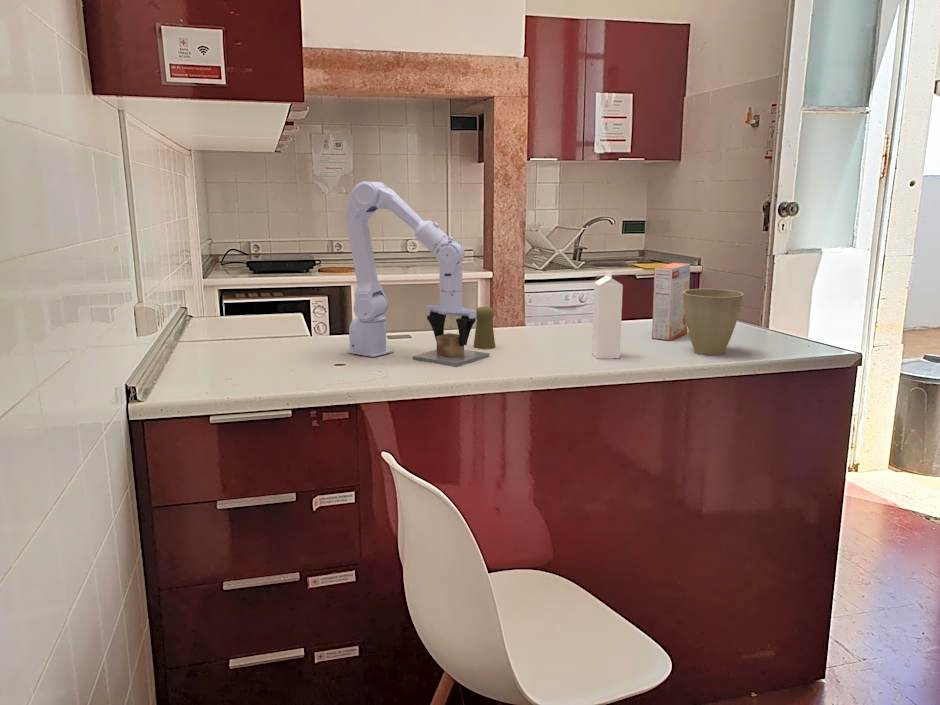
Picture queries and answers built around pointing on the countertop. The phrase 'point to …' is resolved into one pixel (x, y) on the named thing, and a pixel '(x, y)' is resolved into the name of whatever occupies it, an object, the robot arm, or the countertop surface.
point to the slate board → (456, 361)
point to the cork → (484, 329)
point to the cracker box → (670, 300)
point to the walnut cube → (449, 345)
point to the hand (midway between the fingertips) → (451, 343)
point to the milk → (607, 318)
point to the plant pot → (711, 318)
